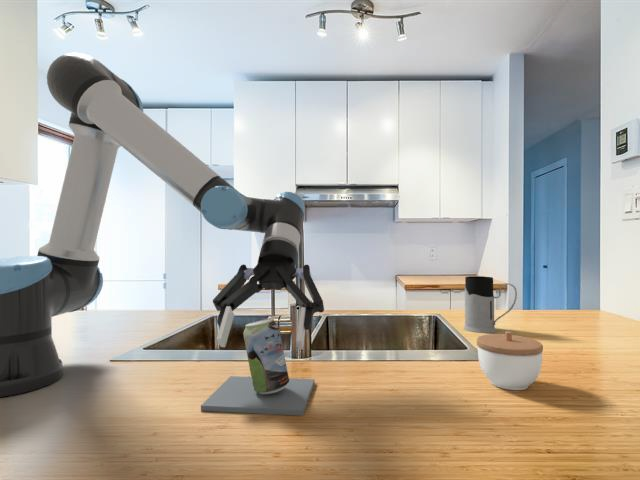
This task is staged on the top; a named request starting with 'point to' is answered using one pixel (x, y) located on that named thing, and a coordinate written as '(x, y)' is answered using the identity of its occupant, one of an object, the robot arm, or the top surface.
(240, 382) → the rubber mat
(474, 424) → the top surface
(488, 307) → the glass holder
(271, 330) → the beverage can
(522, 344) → the lidded jar
